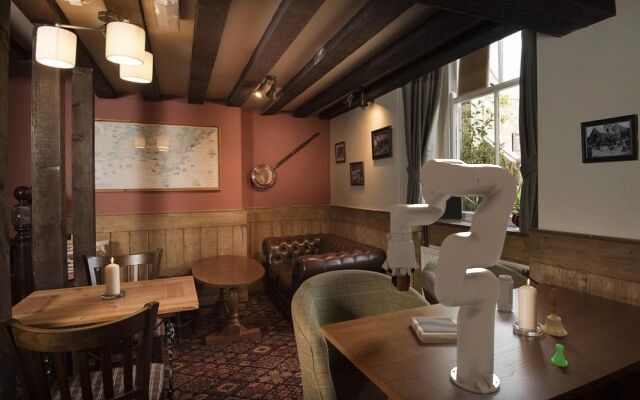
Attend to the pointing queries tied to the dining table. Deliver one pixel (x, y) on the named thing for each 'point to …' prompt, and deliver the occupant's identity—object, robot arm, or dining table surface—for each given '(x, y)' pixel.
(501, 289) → the energy drink can
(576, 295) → the dining table surface
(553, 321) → the hand bell
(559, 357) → the game piece
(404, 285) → the brick
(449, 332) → the plinth
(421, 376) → the dining table surface
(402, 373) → the dining table surface
